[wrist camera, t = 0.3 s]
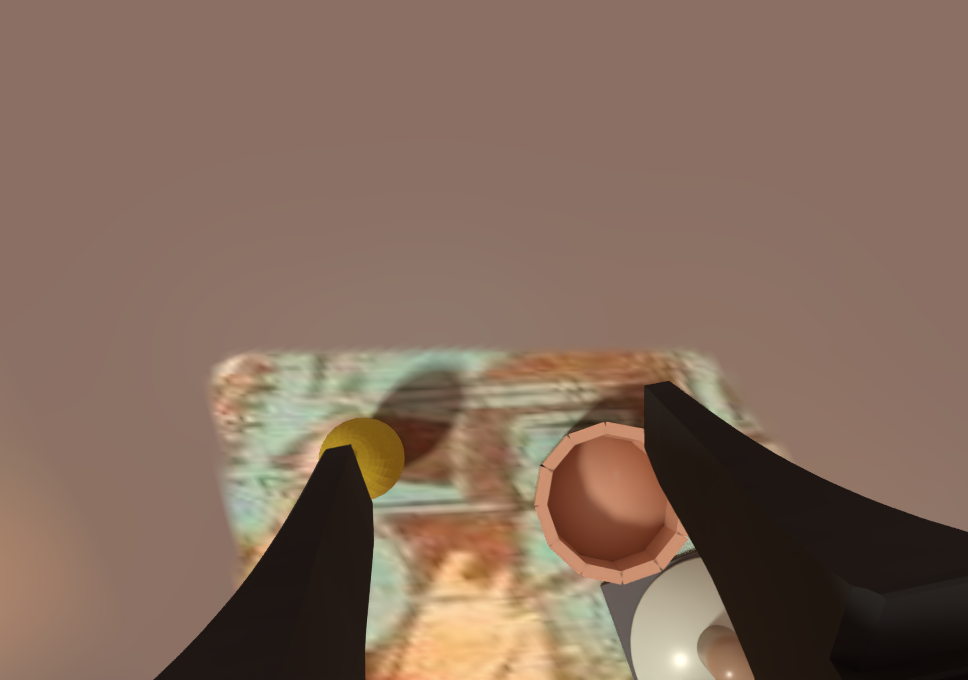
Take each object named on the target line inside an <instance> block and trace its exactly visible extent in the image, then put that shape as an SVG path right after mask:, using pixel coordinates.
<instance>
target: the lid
mask: <svg viewBox="0 0 968 680" xmlns="http://www.w3.org/2000/svg"><path fill="white" fill-rule="evenodd" d="M630 651H631V657H632V663H633V666H634V670H635V673H636V676H637V678H638V680H755V679H754V676H753V674H752V671H751V669H750V666H749V664H748V661H747V659H746V656H745V654H744V652H743V649H742V647H741V644H740V642H739V640H738V637H737V635H736V633H735V630H734V628H733V625H732V623H731V621H730V618H729V616H728V614H727V612H726V609H725V607H724V605H723V603H722V600H721V598H720V596H719V594H718V591H717V589H716V587H715V585H714V582H713V580H712V578H711V576H710V574H709V572H708V570H707V568H706V566H705V564H704V563H703V561H702V559H701V557H696V558H691V559H688V560H684V561H682V562H679V563H677V564H675V565H673V566H671V567H669V568H668V569H666V570H664V571H663V572H662V573H661V574H660V575H658V576H657V577H656V578H655V579H654V580H653V581H652V582H651V583H650V584H649V586H648V587H647V588H646V590H645V591H644V593H643V594H642V596H641V598H640V600H639V602H638V604H637V606H636V609H635V612H634V615H633V619H632V624H631V632H630Z"/></svg>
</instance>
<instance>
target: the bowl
mask: <svg viewBox="0 0 968 680" xmlns="http://www.w3.org/2000/svg"><path fill="white" fill-rule="evenodd" d="M541 464H542V465H543V466H540V467H539V472H538V478H537V484H536V490H535V495H534V505H535V509H536V512H537V515H538V518H539V521H540V523H541V526H542V529H543V532H544V535H545V538H546V541H547V544H548V545H549V547H550V548H551V549H552V550H553V551H554V552H555V553H556V554H557V555H558V556H559V557H560V558H562V559H563V560H564V561H565V562H566V563H567V564H568V565H569V566H570V567H572V568H573V569H574V570H575V571H576V572H577V573H578V574H579V575H580V574H581V575H582V576H584V577H588V578H593V579H597V580H602V581H606V582H611V583H616V584H620V585H621V583H623V584H627V583H630V582H633V581H636V580H639V579H641V578H644V577H647V576H650V575H653V574H656V573H659V572H661V570H660V568H661V569H663V570H664V569H665V567H666V566H667V565H668V564H669V562H670V561H671V560H672V559H673V557H674V556H675V555H676V553H677V552H678V551H679V550H680V548H681V547H682V546H683V545H684V543H685V542H686V541H687V540H688V539H687V538H686V537H684V536H687V537H689V536H688V534H687V533H686V531H685V529H684V527H683V526H682V524H681V522H680V520H679V519H678V517H677V515H676V513H675V512H674V510H673V508H672V506H671V504H670V503H669V501H668V499H667V497H666V496H665V494H664V492H663V490H662V488H661V487H660V485H659V483H658V480H657V478H656V475H655V473H654V471H653V468H652V466H651V463H650V461H649V458H648V456H647V453H646V451H645V448H644V429H642V428H637V427H631V426H626V425H621V424H616V423H610V422H602V423H599V424H597V425H594V426H591V427H588V428H585V429H582V430H579V431H577V432H574V433H571V434H568V435H566V436H564V437H562V439H561V440H560V441H559V442H558V443H557V444H556V446H555V447H554V448H553V449H552V450H551V452H550V453H549V454H548V455H547V456H546V458H545V459H544V460H543V461H542V462H541Z"/></svg>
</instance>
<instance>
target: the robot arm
mask: <svg viewBox="0 0 968 680" xmlns="http://www.w3.org/2000/svg"><path fill="white" fill-rule="evenodd" d="M644 448H645V451H646V453H647V456H648V458H649V461H650V463H651V466H652V468H653V471H654V473H655V475H656V478H657V480H658V483H659V485H660V487H661V488H662V490H663V492H664V494H665V496H666V497H667V499H668V501H669V503H670V504H671V506H672V508H673V510H674V512H675V513H676V515H677V517H678V519H679V520H680V522H681V524H682V526H683V527H684V529H685V531H686V533H687V534H688V536H689V538H690V540H691V541H692V543H693V545H694V547H695V548H696V550H697V552H698V554H699V555H700V557H701V559H702V561H703V563H704V564H705V566H706V568H707V570H708V572H709V574H710V576H711V578H712V580H713V582H714V585H715V587H716V589H717V591H718V594H719V596H720V598H721V600H722V603H723V605H724V607H725V609H726V612H727V614H728V616H729V618H730V621H731V623H732V625H733V628H734V630H735V633H736V635H737V637H738V640H739V642H740V644H741V647H742V649H743V652H744V654H745V656H746V659H747V661H748V664H749V666H750V669H751V671H752V674H753V676H754V679H755V680H968V532H966V531H963V530H960V529H956V528H952V527H950V526H946V525H943V524H940V523H936V522H932V521H929V520H926V519H923V518H920V517H917V516H915V515H912V514H909V513H906V512H903V511H901V510H898V509H895V508H892V507H889V506H887V505H884V504H881V503H879V502H876V501H874V500H871V499H869V498H866V497H864V496H861V495H859V494H857V493H854V492H852V491H850V490H847V489H845V488H843V487H841V486H838V485H836V484H834V483H832V482H829V481H827V480H825V479H823V478H821V477H819V476H817V475H815V474H813V473H811V472H809V471H807V470H805V469H803V468H801V467H799V466H797V465H795V464H793V463H791V462H790V461H788V460H786V459H784V458H782V457H781V456H779V455H777V454H775V453H774V452H772V451H770V450H769V449H767V448H765V447H764V446H762V445H760V444H759V443H757V442H755V441H754V440H752V439H750V438H749V437H747V436H746V435H744V434H743V433H741V432H740V431H738V430H737V429H735V428H734V427H732V426H731V425H729V424H728V423H727V422H725V421H724V420H722V419H721V418H719V417H718V416H716V415H715V414H714V413H712V412H711V411H709V410H708V409H707V408H705V407H704V406H703V405H701V404H700V403H699V402H697V401H696V400H694V399H693V398H692V397H690V396H689V395H688V394H686V393H685V392H684V391H682V390H681V389H680V388H678V387H677V386H675V385H674V384H673V383H671V382H670V381H666V382H661V383H656V384H651V385H645V388H644ZM373 547H374V527H373V503H372V500H371V497H370V494H369V492H368V489H367V486H366V484H365V481H364V478H363V475H362V473H361V470H360V467H359V464H358V462H357V459H356V456H355V454H354V451H353V448H352V445H351V444H349V445H344V446H339V447H334V448H329V449H326V450H325V451H324V452H323V454H322V456H321V458H320V460H319V461H318V463H317V465H316V467H315V469H314V471H313V473H312V475H311V477H310V479H309V480H308V482H307V484H306V486H305V488H304V490H303V491H302V493H301V495H300V497H299V499H298V500H297V502H296V504H295V505H294V507H293V509H292V511H291V512H290V514H289V516H288V518H287V519H286V521H285V523H284V524H283V526H282V527H281V529H280V530H279V532H278V534H277V535H276V537H275V538H274V540H273V541H272V543H271V544H270V546H269V547H268V549H267V550H266V552H265V553H264V555H263V556H262V558H261V559H260V561H259V562H258V563H257V565H256V566H255V568H254V569H253V570H252V572H251V573H250V574H249V576H248V577H247V578H246V580H245V581H244V582H243V584H242V585H241V586H240V588H239V589H238V590H237V591H236V593H235V594H234V595H233V596H232V598H231V599H230V600H229V601H228V602H227V603H226V605H225V606H224V607H223V608H222V610H220V612H219V613H218V614H217V615H216V616H215V617H214V618H213V620H212V621H211V622H210V623H209V624H208V625H207V626H206V628H205V629H204V630H203V631H202V632H201V633H200V634H199V635H198V636H197V637H196V638H195V639H194V640H193V641H192V643H190V645H189V646H188V647H187V648H186V649H185V650H184V651H183V652H182V653H181V654H180V655H179V656H178V657H177V658H176V659H175V660H174V661H173V662H172V663H171V664H170V665H168V666H167V667H166V668H165V669H164V670H163V671H162V672H161V673H160V674H159V675H158V676H157V677H156V678H155V679H154V680H365V642H366V626H367V615H368V604H369V593H370V582H371V571H372V559H373Z"/></svg>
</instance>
